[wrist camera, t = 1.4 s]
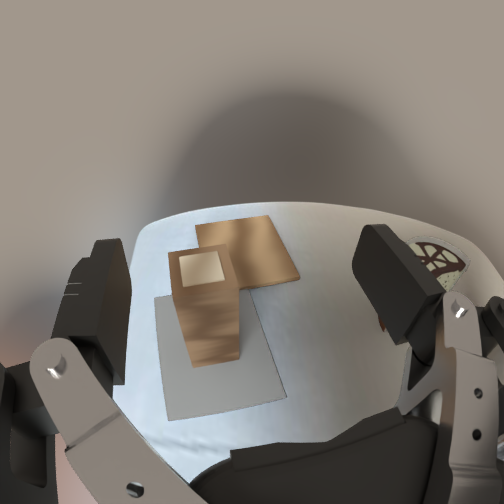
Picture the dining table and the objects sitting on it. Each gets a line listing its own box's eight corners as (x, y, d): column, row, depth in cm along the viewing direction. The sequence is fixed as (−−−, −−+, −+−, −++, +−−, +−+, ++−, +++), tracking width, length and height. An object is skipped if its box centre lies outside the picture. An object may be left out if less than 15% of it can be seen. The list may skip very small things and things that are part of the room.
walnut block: (228, 322, 34) (225, 242, 25) (239, 359, 30) (239, 285, 22) (186, 329, 33) (167, 251, 24) (192, 368, 29) (172, 296, 21)
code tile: (246, 283, 38) (246, 282, 38) (286, 397, 27) (286, 397, 27) (154, 298, 36) (154, 297, 36) (168, 421, 24) (168, 420, 24)
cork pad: (267, 218, 49) (268, 215, 49) (299, 279, 39) (299, 276, 39) (195, 228, 46) (195, 225, 46) (209, 296, 37) (209, 293, 36)
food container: (417, 279, 40) (445, 228, 33) (439, 310, 35) (473, 259, 28) (352, 297, 37) (376, 239, 30) (374, 335, 33) (407, 280, 26)
